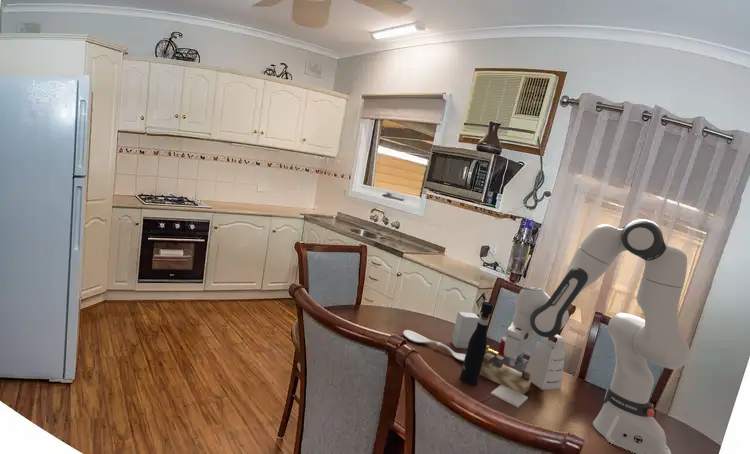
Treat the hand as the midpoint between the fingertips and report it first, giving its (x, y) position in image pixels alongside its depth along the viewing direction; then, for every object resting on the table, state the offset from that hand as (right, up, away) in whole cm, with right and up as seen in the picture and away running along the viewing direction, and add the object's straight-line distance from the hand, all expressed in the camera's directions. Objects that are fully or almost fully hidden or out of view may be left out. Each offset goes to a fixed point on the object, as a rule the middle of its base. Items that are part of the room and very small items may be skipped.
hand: (515, 363), depth 163 cm
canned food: (+1, -7, +18) cm, 19 cm away
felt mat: (-5, -9, -9) cm, 13 cm away
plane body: (-4, -8, +2) cm, 9 cm away
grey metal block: (0, -1, 0) cm, 1 cm away
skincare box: (-15, -2, +29) cm, 32 cm away
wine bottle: (-18, -6, -3) cm, 19 cm away
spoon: (-27, -1, +19) cm, 33 cm away
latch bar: (-8, +3, +5) cm, 10 cm away
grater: (+13, -10, +9) cm, 19 cm away
